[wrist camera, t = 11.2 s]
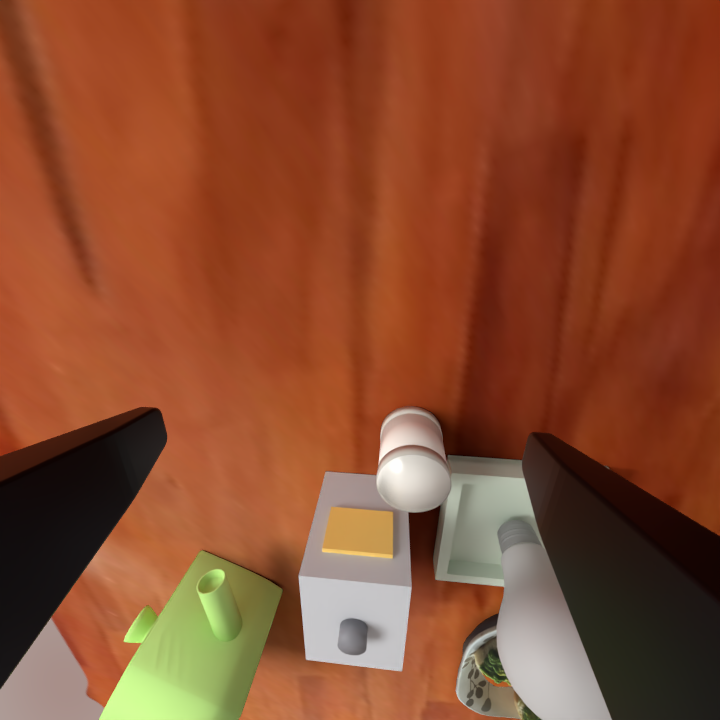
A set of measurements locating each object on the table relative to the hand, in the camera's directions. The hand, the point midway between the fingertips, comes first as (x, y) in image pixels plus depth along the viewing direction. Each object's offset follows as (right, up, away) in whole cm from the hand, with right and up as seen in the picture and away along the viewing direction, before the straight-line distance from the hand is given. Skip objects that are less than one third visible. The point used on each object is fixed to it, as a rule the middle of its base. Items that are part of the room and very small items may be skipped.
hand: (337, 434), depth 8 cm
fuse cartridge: (+4, -3, +15) cm, 16 cm away
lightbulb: (+12, -10, +17) cm, 23 cm away
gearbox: (-13, -20, +25) cm, 34 cm away
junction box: (+1, -10, +19) cm, 21 cm away
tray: (+12, -10, +17) cm, 23 cm away
